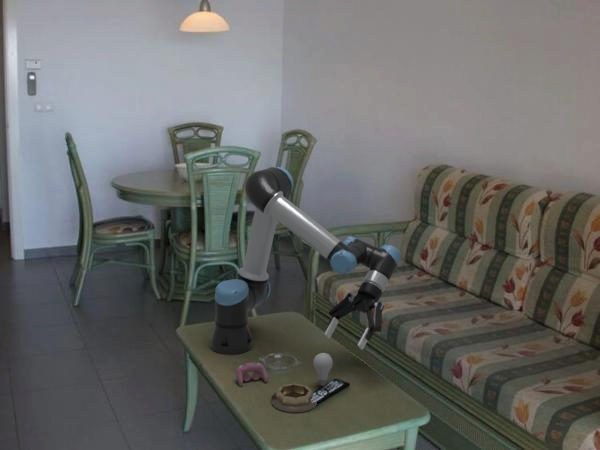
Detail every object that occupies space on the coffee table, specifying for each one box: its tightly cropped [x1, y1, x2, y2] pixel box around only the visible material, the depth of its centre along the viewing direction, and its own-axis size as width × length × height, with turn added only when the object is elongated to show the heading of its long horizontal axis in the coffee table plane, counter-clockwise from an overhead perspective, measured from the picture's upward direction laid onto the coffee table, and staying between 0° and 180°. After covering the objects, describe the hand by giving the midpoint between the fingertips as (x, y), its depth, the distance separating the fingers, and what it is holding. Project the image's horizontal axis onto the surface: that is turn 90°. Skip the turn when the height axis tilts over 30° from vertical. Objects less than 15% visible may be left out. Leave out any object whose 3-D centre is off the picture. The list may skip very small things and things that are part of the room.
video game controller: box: [235, 362, 269, 387], centre depth 221 cm, size 10×5×7 cm, turn 111°
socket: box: [270, 383, 318, 414], centre depth 208 cm, size 14×14×4 cm
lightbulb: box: [312, 352, 334, 387], centre depth 218 cm, size 6×6×11 cm
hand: (343, 341), depth 222 cm, fingers open, 13 cm apart
